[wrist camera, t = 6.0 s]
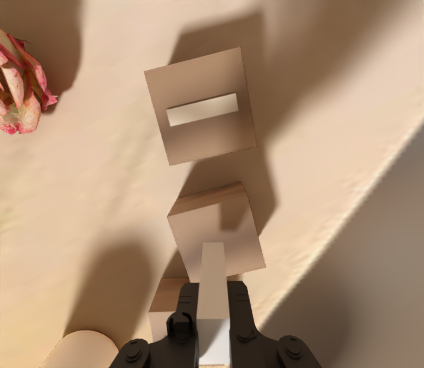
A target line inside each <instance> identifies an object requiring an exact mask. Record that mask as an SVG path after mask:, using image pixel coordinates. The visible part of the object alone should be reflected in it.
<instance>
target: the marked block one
mask: <svg viewBox="0 0 424 368" xmlns="http://www.w3.org/2000/svg"><path fill="white" fill-rule="evenodd" d="M144 74H145V78H146V81H147V85H148V88H149V92H150V96H151V99H152V103H153V107H154V110H155V114H156V117H157V121H158V125H159V128H160V132H161V136H162V139H163V143H164V147H165V150H166V154H167V157H168V161H169V165H170V166H171V165H176V164H180V163H185V162H189V161H194V160H198V159H203V158H207V157H212V156H216V155H221V154H225V153H230V152H235V151H239V150H244V149H248V148H253V147H257V144H256V138H255V132H254V126H253V120H252V114H251V108H250V102H249V96H248V90H247V85H246V79H245V73H244V67H243V61H242V55H241V49H240V47H237V48H233V49H229V50H225V51H221V52H217V53H214V54H210V55H206V56H202V57H198V58H194V59H190V60H186V61H183V62H179V63H175V64H171V65H167V66H163V67H159V68H155V69H151V70H148V71H144Z"/></svg>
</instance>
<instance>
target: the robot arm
mask: <svg viewBox="0 0 424 368" xmlns="http://www.w3.org/2000/svg"><path fill="white" fill-rule="evenodd" d="M166 327H167V336H166V337H164V338H163V339H161V340H159V341H156V342H153V343H150V344H148V343H147V341H145V340H143V339H134V340H131V341H129V342H128V343H126V344H125V345H124V346H123V347H122V348H121V350H120V351H119V353H118V354H117V356H116V357H115V359H114V360H113V362H112V363H111V365H110V366H109V368H199V365H201V364H230V368H322V367H321V366H320V364H319V363H318V361H317V360H316V358H315V357H314V355H313V354H312V352H311V351H310V349H309V348H308V347H307V345H306V344H305V343H304V342H303V341H302V340H300V339H299V338H297V337H294V336H291V335H288V336H283V337H282V338H280V340H279V341H276V340H273V339H270V338H267V337H265V336H263V335H262V334H261V333H260V332H259V331H258V330H257V328H256V326H255V324H254V319H253V314H252V309H251V304H250V299H249V295H248V290H247V286H246V285H245V284H244V283H243V281H227V279H226V267H225V255H224V243H223V242H209V243H203V252H202V263H201V274H200V283H185V284H184V285H183V286H182V288H181V289H180V293H179V298H178V304H177V308H176V312H174V313H172V314H171V315H170V316H169V317H168V319H167V321H166Z"/></svg>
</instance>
